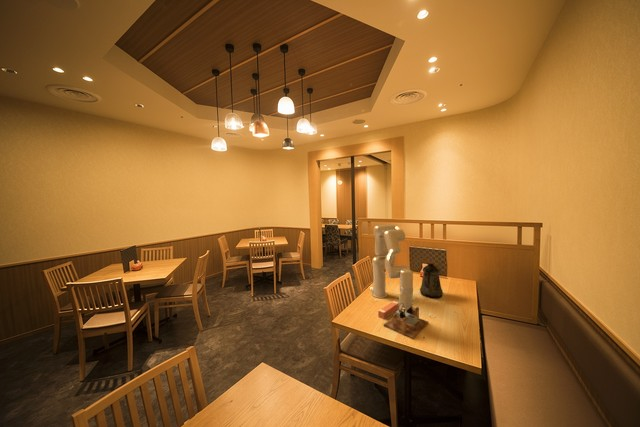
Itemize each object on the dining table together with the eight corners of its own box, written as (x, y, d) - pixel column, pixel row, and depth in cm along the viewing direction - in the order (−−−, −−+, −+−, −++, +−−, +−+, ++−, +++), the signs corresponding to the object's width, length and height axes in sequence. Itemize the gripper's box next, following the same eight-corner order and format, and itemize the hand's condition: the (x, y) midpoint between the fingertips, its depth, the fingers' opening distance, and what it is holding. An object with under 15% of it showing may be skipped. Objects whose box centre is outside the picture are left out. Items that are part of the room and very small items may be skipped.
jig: (383, 326, 135) (383, 312, 135) (400, 313, 150) (400, 300, 150) (412, 339, 122) (412, 323, 122) (428, 323, 137) (428, 309, 137)
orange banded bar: (378, 317, 146) (378, 310, 146) (393, 306, 160) (393, 300, 160) (383, 319, 143) (383, 312, 143) (398, 308, 157) (398, 302, 157)
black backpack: (440, 291, 183) (441, 262, 181) (445, 302, 165) (445, 269, 163) (419, 289, 189) (419, 260, 187) (421, 299, 170) (421, 267, 169)
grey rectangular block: (395, 320, 140) (395, 311, 139) (399, 317, 142) (399, 308, 142) (413, 328, 130) (413, 319, 130) (417, 325, 133) (417, 316, 133)
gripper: (406, 284, 144) (406, 310, 145) (393, 292, 132) (393, 320, 133) (418, 287, 138) (418, 314, 139) (405, 296, 126) (405, 325, 127)
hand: (406, 317), depth 136 cm, fingers open, 8 cm apart
